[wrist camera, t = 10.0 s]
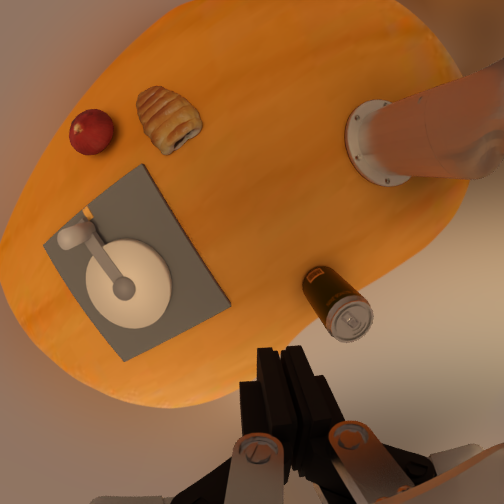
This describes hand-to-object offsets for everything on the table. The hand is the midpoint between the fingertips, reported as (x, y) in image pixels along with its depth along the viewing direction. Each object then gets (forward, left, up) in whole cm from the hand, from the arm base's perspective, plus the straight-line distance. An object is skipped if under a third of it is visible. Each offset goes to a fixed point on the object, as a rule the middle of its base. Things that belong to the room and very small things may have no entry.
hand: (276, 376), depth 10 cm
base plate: (+16, -4, -27) cm, 32 cm away
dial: (+16, -5, -26) cm, 31 cm away
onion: (+9, -22, -27) cm, 36 cm away
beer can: (-6, +11, -27) cm, 30 cm away
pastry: (0, -18, -28) cm, 33 cm away
